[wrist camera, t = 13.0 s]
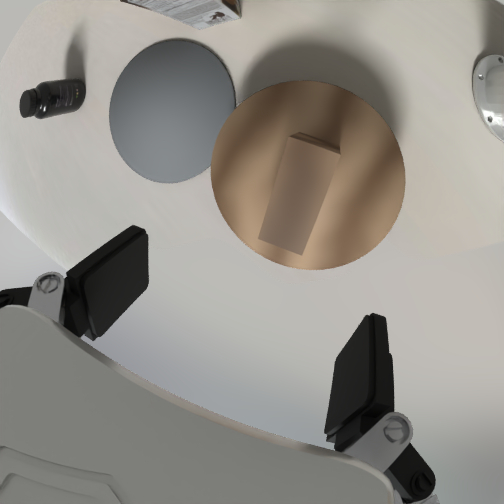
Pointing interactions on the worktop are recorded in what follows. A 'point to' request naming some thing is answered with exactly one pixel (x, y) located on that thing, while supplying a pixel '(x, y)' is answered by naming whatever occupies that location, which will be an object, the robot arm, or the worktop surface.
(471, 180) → the worktop surface
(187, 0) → the coffee box
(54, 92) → the supplement bottle
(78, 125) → the worktop surface
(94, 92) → the worktop surface
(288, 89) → the lid
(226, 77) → the tray
